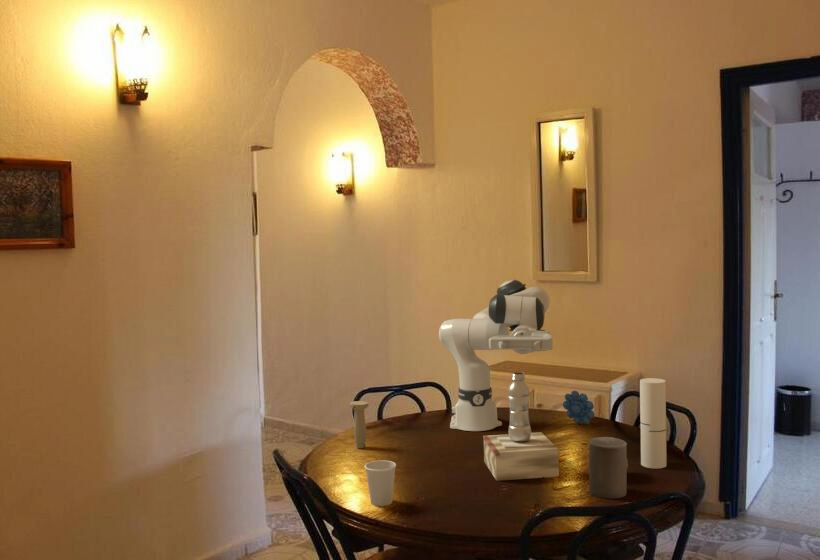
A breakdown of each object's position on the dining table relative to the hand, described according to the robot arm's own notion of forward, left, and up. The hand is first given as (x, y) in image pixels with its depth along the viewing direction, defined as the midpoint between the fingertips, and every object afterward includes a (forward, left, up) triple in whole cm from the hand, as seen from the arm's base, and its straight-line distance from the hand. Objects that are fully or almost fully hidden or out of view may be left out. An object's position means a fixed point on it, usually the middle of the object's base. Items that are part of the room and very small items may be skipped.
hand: (518, 346), depth 235 cm
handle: (-18, -50, -34) cm, 63 cm away
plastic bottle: (+14, -3, -26) cm, 30 cm away
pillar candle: (+38, +14, -34) cm, 53 cm away
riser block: (+14, -4, -34) cm, 37 cm away
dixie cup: (+34, -46, -34) cm, 67 cm away
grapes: (-31, +28, -34) cm, 54 cm away
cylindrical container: (+18, +35, -34) cm, 52 cm away
